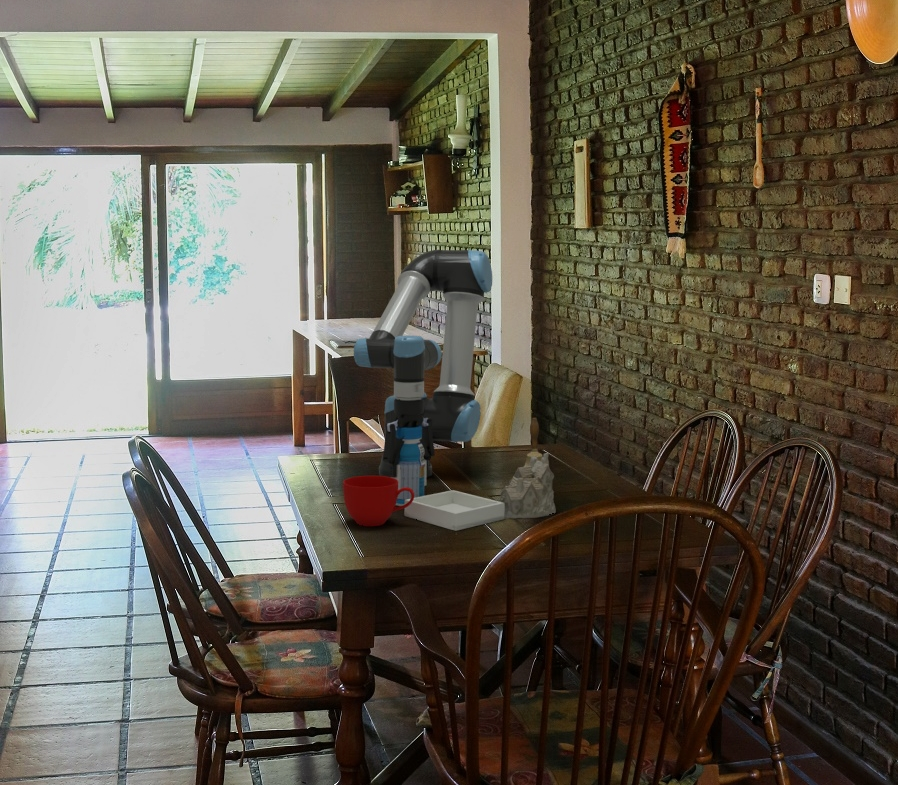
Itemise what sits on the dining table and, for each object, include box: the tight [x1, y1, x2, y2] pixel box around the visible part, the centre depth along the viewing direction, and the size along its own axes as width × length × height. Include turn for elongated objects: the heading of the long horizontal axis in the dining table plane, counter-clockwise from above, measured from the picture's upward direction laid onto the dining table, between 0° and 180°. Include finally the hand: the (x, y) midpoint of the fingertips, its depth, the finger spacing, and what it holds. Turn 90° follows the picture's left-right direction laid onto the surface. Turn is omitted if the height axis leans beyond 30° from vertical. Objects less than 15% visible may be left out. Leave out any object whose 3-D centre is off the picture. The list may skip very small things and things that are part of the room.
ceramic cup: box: [342, 475, 414, 527], centre depth 259 cm, size 13×17×10 cm
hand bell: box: [523, 417, 543, 467], centre depth 317 cm, size 8×8×16 cm
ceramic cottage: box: [499, 452, 557, 519], centre depth 272 cm, size 16×16×15 cm
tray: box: [404, 489, 505, 531], centre depth 265 cm, size 18×16×4 cm
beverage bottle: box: [395, 426, 425, 507], centre depth 278 cm, size 8×8×20 cm
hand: (409, 487), depth 278 cm, fingers closed on beverage bottle, 8 cm apart
